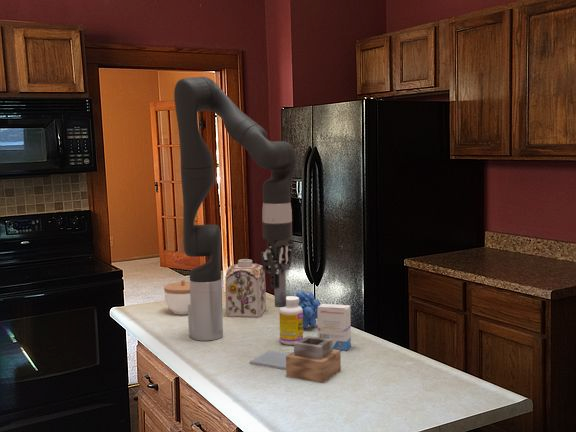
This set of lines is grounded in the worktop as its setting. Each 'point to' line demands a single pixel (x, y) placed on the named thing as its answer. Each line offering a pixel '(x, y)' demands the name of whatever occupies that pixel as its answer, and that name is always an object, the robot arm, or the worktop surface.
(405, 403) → the worktop surface
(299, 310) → the supplement bottle
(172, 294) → the lidded bowl
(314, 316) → the grapes
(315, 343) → the block
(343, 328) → the ink box
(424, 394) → the worktop surface
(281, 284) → the chuck key
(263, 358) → the mat
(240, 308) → the decorative jar
